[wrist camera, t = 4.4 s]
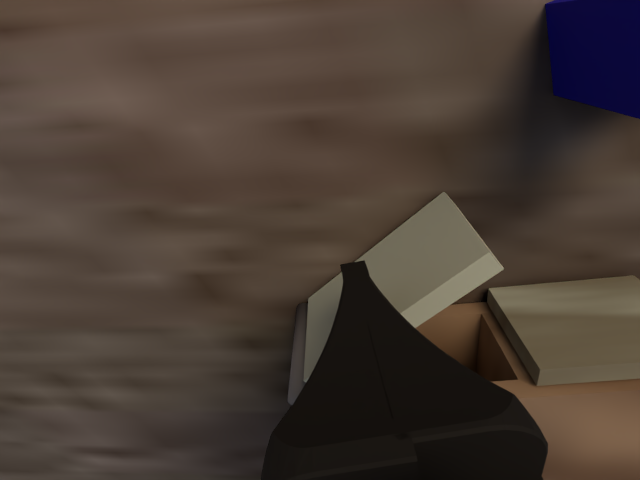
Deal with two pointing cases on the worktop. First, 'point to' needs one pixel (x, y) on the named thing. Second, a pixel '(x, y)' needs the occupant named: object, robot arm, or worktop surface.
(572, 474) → the cabinet
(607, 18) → the blue curved piece
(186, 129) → the worktop surface
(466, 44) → the worktop surface
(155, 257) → the worktop surface
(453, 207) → the door
